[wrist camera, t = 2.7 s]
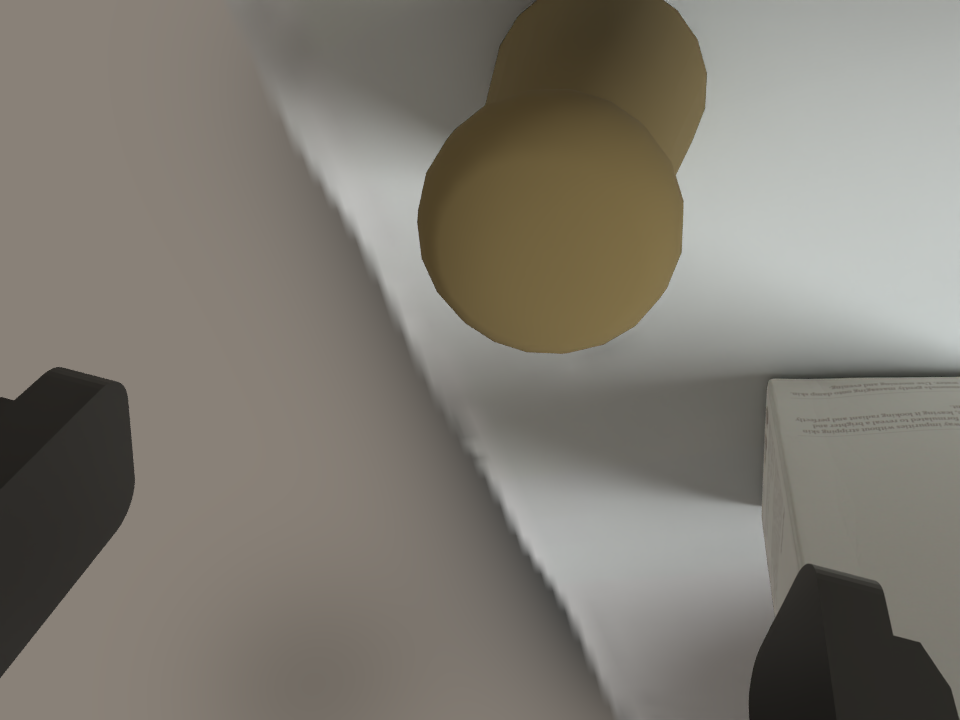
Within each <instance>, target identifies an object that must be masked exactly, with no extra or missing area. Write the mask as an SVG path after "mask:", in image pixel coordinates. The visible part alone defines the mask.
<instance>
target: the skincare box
mask: <svg viewBox="0 0 960 720" xmlns="http://www.w3.org/2000/svg"><path fill="white" fill-rule="evenodd" d="M762 524H763V532H764V539H765V547H766V556H767V563H768V571H769V578H770V585H771V593H772V600H773V607H774V614H775V617H776V615H777V613H778V612H779V610H780V608H781V606H782V604H783V602H784V600H785V598H786V596H787V594H788V592H789V590H790V588H791V586H792V584H793V582H794V580H795V578H796V576H797V574H798V572H799V571H800V569H801V568H802V567H803V566H804V565H805V564H814V565H817V566H821V567H825V568H829V569H833V570H837V571H841V572H844V573H848V574H852V575H856V576H860V577H864V578H868V579H871V580H875V581H877V582H879V584H880V585H881V587H882V589H883V591H884V595H885V599H886V604H887V608H888V613H889V617H890V622H891V627H892V631H893V635H894V636H898V637H902V638H906V639H909V640H913V641H917V642H920V643H921V644H922V646H923V647H924V649H925V650H926V652H927V653H928V655H929V656H930V658H931V659H932V661H933V662H934V664H935V665H936V667H937V668H938V670H939V671H940V673H941V674H942V676H943V677H944V678H945V680H946V681H947V683H948V684H949V686H950V687H951V690H952V694H953V697H954V701H955V705H956V708H957V712H958V716H959V720H960V377H900V378H832V379H775V378H774V379H770V380H769V382H768V385H767V397H766V418H765V438H764V465H763V490H762Z"/></svg>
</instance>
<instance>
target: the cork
mask: <svg viewBox="0 0 960 720" xmlns="http://www.w3.org/2000/svg"><path fill="white" fill-rule="evenodd" d="M706 80H707V72H706V69H705V65H704V62H703V58H702V54H701V51H700V47H699V44H698V40H697V38H696V37H695V35H694V34H693V33H692V31H691V30H690V28H689V27H688V25H687V24H686V22H685V21H684V20H683V18H682V17H681V15H680V14H679V12H678V11H677V10H676V9H675V8H673V7H672V6H671V5H669V4H668V3H666V2H665V1H664V0H537V1H536V2H534V3H533V4H532V5H531V6H530V7H528V8H527V9H526V10H525V11H524V12H523V13H521V14H520V15H519V16H518V17H517V19H516V20H515V22H514V24H513V25H512V27H511V29H510V30H509V32H508V33H507V35H506V37H505V38H504V40H503V42H502V43H501V45H500V47H499V52H498V56H497V60H496V64H495V68H494V72H493V76H492V80H491V84H490V88H489V92H488V96H487V100H486V104H485V106H484V107H482V108H481V109H480V110H479V111H477V112H476V113H475V114H474V115H472V116H471V117H470V118H469V119H467V120H466V121H465V122H464V123H462V124H461V125H460V126H459V127H457V128H456V129H455V130H454V131H453V132H452V134H451V135H450V136H449V137H448V139H447V140H446V142H445V143H444V145H443V146H442V148H441V150H440V151H439V153H438V155H437V156H436V158H435V159H434V161H433V163H432V164H431V166H430V168H429V169H428V171H427V172H426V176H425V181H424V186H423V190H422V195H421V200H420V204H419V209H418V220H417V223H418V232H419V240H420V248H421V256H422V260H423V262H424V264H425V267H426V269H427V271H428V273H429V275H430V277H431V280H432V282H433V284H434V286H435V288H436V290H437V292H438V293H439V294H440V296H441V297H442V298H443V299H444V300H445V301H446V302H447V304H448V305H449V306H450V307H451V308H452V309H453V310H454V311H455V313H456V314H457V315H458V316H459V317H460V318H461V319H462V320H463V321H464V322H465V323H466V324H468V325H469V326H471V327H472V328H474V329H475V330H477V331H478V332H480V333H481V334H483V335H485V336H486V337H488V338H489V339H491V340H492V341H494V342H497V343H500V344H503V345H506V346H509V347H512V348H516V349H519V350H522V351H525V352H536V353H559V354H563V353H570V352H574V351H578V350H583V349H587V348H591V347H595V346H599V345H603V344H605V343H607V342H608V341H610V340H612V339H614V338H615V337H617V336H619V335H621V334H622V333H624V332H626V331H627V330H629V329H631V328H633V327H634V326H636V324H637V323H638V322H639V321H640V320H641V319H642V318H643V317H644V315H645V314H646V313H647V312H648V311H649V310H650V309H651V308H652V306H653V305H654V304H655V303H656V302H657V301H658V300H659V299H660V297H661V296H662V294H663V293H664V291H665V290H666V289H667V287H668V284H669V282H670V279H671V277H672V274H673V272H674V270H675V267H676V265H677V262H678V260H679V257H680V255H681V252H682V229H683V198H682V195H681V191H680V188H679V185H678V182H677V178H676V174H677V172H678V169H679V167H680V165H681V163H682V161H683V159H684V157H685V155H686V153H687V151H688V149H689V147H690V144H691V142H692V140H693V138H694V135H695V133H696V130H697V128H698V125H699V122H700V120H701V117H702V115H703V112H704V109H705V99H706Z"/></svg>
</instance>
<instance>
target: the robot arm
mask: <svg viewBox="0 0 960 720" xmlns="http://www.w3.org/2000/svg"><path fill="white" fill-rule="evenodd" d="M134 483H135V475H134V463H133V451H132V440H131V428H130V417H129V405H128V396H127V392H126V389H125V388H124V386H123V385H122V384H121V383H119V382H116V381H112V380H109V379H104V378H100V377H97V376H93V375H89V374H85V373H82V372H78V371H74V370H70V369H66V368H62V367H56V368H53V369H51V370H49V371H47V372H46V373H45V374H43V375H42V376H41V377H40V378H39V379H38V380H37V381H36V382H34V383H33V384H32V385H31V386H30V387H29V388H28V389H27V390H25V391H24V392H23V393H22V394H21V395H20V396H19V397H18V398H16V399H15V400H10V399H6V398H3V397H1V398H0V678H1V676H2V675H3V674H4V673H5V671H6V670H7V669H8V668H9V666H10V665H11V664H12V662H13V661H14V660H15V658H16V657H17V656H18V655H19V653H20V652H21V651H22V650H23V649H24V647H25V646H26V645H27V643H28V642H29V641H30V640H31V638H32V637H33V636H34V634H35V633H36V632H37V631H38V630H39V628H40V627H41V625H43V623H44V622H45V621H46V619H47V618H48V617H49V616H50V614H51V613H52V612H53V610H54V609H55V608H56V607H57V606H58V604H59V603H60V602H61V600H62V599H63V598H64V597H65V595H66V594H67V593H68V591H69V590H70V589H71V588H72V586H73V585H74V584H75V583H76V582H77V580H78V579H79V578H80V577H81V575H82V574H83V573H84V571H85V570H86V569H87V568H88V566H89V565H90V564H91V563H92V561H93V560H94V559H95V558H96V556H97V555H98V554H99V553H100V551H101V550H102V549H103V547H104V546H105V545H106V544H107V542H108V541H109V540H110V539H111V537H112V536H113V535H114V534H115V532H116V531H117V530H118V528H119V527H120V525H121V524H122V522H123V520H124V518H125V516H126V514H127V512H128V509H129V506H130V503H131V500H132V496H133V492H134ZM749 720H959V716H958V712H957V708H956V705H955V701H954V697H953V694H952V690H951V687H950V686H949V684H948V683H947V681H946V680H945V678H944V677H943V676H942V674H941V673H940V671H939V670H938V668H937V667H936V665H935V664H934V662H933V661H932V659H931V658H930V656H929V655H928V653H927V652H926V650H925V649H924V647H923V646H922V644H921V643H920V642H917V641H913V640H909V639H906V638H902V637H898V636H894V635H893V631H892V627H891V622H890V617H889V613H888V608H887V604H886V599H885V595H884V591H883V589H882V587H881V585H880V584H879V582H877V581H875V580H871V579H868V578H864V577H860V576H856V575H852V574H848V573H844V572H841V571H837V570H833V569H829V568H825V567H821V566H817V565H814V564H805V565H804V566H803V567H802V568H801V569H800V571H799V572H798V574H797V576H796V578H795V580H794V582H793V584H792V586H791V588H790V590H789V592H788V594H787V596H786V598H785V600H784V602H783V604H782V606H781V608H780V610H779V612H778V613H777V615H776V617H775V619H774V621H773V623H772V625H771V627H770V629H769V631H768V633H767V635H766V637H765V639H764V641H763V643H762V645H761V647H760V650H759V652H758V655H757V657H756V660H755V664H754V668H753V672H752V677H751V683H750V691H749Z"/></svg>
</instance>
